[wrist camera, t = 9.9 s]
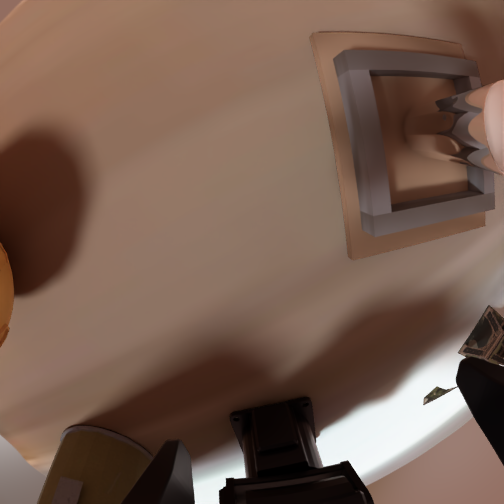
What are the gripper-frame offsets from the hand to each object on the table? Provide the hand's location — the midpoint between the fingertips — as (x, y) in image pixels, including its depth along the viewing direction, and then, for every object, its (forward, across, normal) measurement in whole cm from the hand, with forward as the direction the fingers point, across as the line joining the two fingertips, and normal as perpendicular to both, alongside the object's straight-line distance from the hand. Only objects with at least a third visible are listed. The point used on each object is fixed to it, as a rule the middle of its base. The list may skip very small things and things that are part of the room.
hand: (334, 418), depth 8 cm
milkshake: (+11, -11, -7) cm, 18 cm away
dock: (+12, -11, -7) cm, 18 cm away
